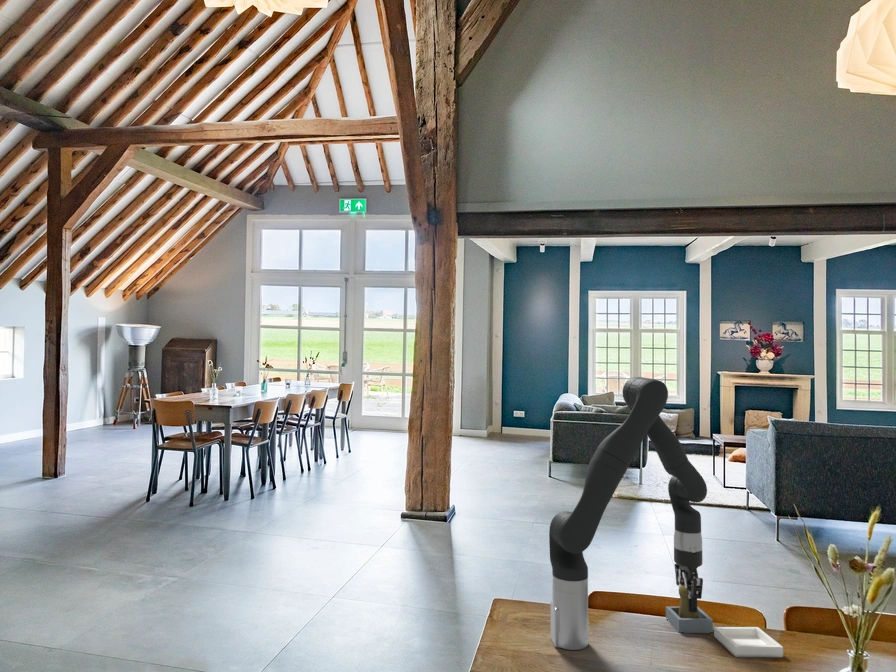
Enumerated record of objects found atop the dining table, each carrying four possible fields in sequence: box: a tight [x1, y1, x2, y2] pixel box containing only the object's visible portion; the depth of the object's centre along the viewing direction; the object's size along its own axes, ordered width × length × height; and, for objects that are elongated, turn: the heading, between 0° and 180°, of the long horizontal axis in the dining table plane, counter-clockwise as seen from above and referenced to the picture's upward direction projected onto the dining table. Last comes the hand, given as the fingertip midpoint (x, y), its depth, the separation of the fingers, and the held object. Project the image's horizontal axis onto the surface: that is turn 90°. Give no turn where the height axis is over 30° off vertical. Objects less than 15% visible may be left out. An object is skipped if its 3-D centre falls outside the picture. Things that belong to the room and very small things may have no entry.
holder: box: [665, 605, 714, 634], centre depth 173 cm, size 9×9×4 cm
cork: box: [678, 584, 699, 618], centre depth 173 cm, size 6×6×11 cm
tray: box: [713, 626, 784, 658], centre depth 160 cm, size 12×12×2 cm
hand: (688, 607), depth 173 cm, fingers closed on cork, 5 cm apart
